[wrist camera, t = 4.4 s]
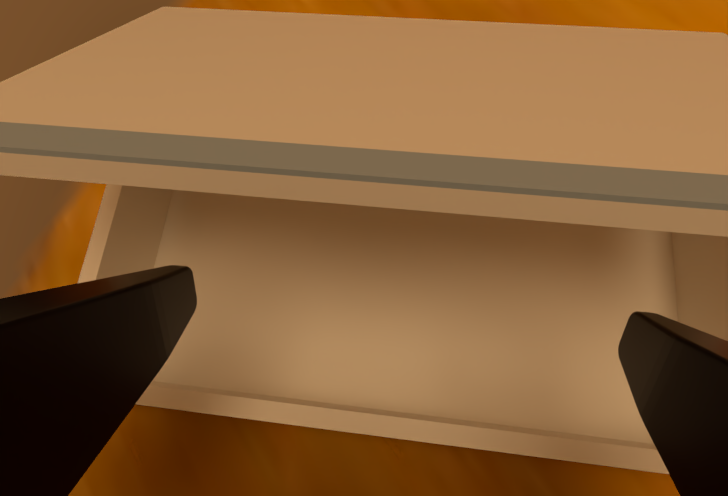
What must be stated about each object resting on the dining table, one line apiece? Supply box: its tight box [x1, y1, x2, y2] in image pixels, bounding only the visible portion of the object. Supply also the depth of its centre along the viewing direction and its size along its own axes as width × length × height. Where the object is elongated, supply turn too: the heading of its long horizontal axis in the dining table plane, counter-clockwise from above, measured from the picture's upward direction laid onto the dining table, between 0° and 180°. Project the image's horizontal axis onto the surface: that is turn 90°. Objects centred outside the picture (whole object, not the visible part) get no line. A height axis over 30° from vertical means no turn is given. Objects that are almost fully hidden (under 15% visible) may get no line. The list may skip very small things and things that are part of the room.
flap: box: [0, 7, 728, 237], centre depth 13 cm, size 12×21×1 cm
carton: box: [78, 184, 728, 474], centre depth 18 cm, size 14×22×4 cm, turn 83°
